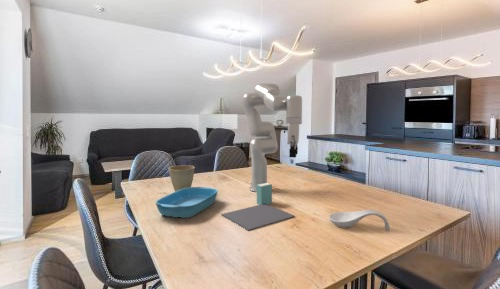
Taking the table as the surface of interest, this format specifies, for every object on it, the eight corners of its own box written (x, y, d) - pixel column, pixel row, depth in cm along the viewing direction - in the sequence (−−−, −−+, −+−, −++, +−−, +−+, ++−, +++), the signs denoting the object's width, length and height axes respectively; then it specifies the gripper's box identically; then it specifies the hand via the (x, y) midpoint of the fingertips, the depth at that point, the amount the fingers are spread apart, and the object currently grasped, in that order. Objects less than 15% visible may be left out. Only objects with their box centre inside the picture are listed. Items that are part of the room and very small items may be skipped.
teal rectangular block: (256, 203, 151) (256, 184, 150) (267, 201, 155) (267, 182, 154) (261, 205, 148) (261, 186, 147) (271, 202, 152) (271, 184, 150)
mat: (221, 215, 134) (221, 214, 134) (265, 204, 149) (265, 203, 149) (248, 231, 116) (248, 229, 116) (294, 217, 131) (294, 215, 131)
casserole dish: (188, 196, 166) (188, 184, 165) (224, 199, 159) (223, 187, 158) (147, 219, 132) (146, 204, 131) (189, 224, 124) (189, 208, 124)
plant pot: (164, 196, 165) (163, 169, 163) (177, 189, 179) (176, 164, 178) (188, 198, 162) (187, 170, 160) (199, 191, 176) (198, 165, 174)
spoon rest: (328, 229, 118) (329, 212, 117) (328, 219, 129) (329, 203, 128) (391, 235, 112) (392, 217, 111) (386, 223, 123) (386, 207, 122)
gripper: (288, 120, 149) (287, 152, 152) (284, 121, 133) (284, 158, 135) (302, 120, 148) (302, 153, 150) (300, 121, 131) (300, 158, 133)
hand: (293, 155), depth 142 cm, fingers open, 9 cm apart
